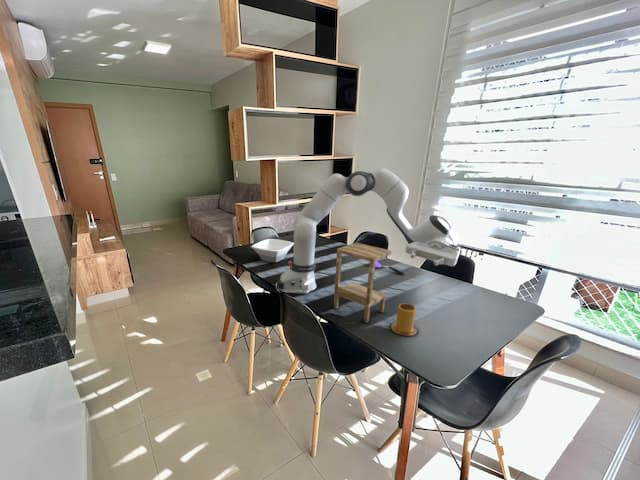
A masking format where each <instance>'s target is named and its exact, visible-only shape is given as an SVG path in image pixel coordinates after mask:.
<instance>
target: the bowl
mask: <svg viewBox="0 0 640 480" xmlns="http://www.w3.org/2000/svg"><path fill="white" fill-rule="evenodd" d="M292 247H294V241H293V242H292V241H288V240H284V239H278V238H277V239H276V238H266V239H263V240H261V241H258V242H255V243H254V244H252V245H251V246H250V248H251V249H252V250H253V251H255V253H256V254H258V256H259V258H260V260H262V261H265V262H270V263H279V262H280V261H282V260H284V259H285V258H286V256H287V254H288V252H289V251H290V250H291V248H292Z"/></svg>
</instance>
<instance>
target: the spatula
mask: <svg viewBox="0 0 640 480" xmlns="http://www.w3.org/2000/svg"><path fill="white" fill-rule="evenodd" d="M368 264H370V261H368ZM377 268H378V269H379V268H388V269H389V270H391V271H393V272H395V273H397V274H400V275H404V274H405V272H404V271H402V270H400V269H397V268H395V267H392V266H388V265H383V264H381V263H379V262H378V260H377V261H376V262H375V269H377Z"/></svg>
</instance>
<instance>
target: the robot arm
mask: <svg viewBox="0 0 640 480" xmlns="http://www.w3.org/2000/svg"><path fill="white" fill-rule="evenodd" d="M368 192H374V193H376V194H377V195H378V196H379V197H380V198H381V199H382V200H383V201H384V203H385V205H386V213H387V215H388V216H389V218H390V220H392V222H393V223H394V225H395V226H396V228H397V229H399V232H400V233H401V234H402V235H403V237H404V238H405V241H406V242H407V245H406V247H405V253H406V254H407V255H410V258H411V259H415V258H416V257H419V258H422V259H425V260H429V261H432V262H433V263H432V264H433V265H434V266H438V265H445V266H448V267H455V266H456V265H457V263H458V259H459V256H460V252H461V247H460V246H458V245H459V242H460V235H459V234H458V232H457V231H456V230H454V229H452V227H451V225H450V224H449V222H448V221H447V219H445V218H444V217H443V216H440V215H433V214H432V215H430V216H427V218H426V219H424V220H423V221H422V222H420V223H419V224H417V225H416V226H415V227H413V226H412V225H411V224H410V223H409V221H408V220H407V218H405V216H404V214H403V210H404V209H403V208H404V206H405V204H406V202H407V200H408V198H409V193H410V191H409V187H408V186H407V184H405V182H404V181H403V180H401V178H399V176H398V175H396V174H394V173H393V172H392V171H390V170H389V169H387V168H385V167H379V168H378V169H376V170H374V171H373V172H367V171H363V170H362V171H361V170H358V171H353V172H352V173H351V174H350V175H349V176H347V177H346V176H344V175H342V174H340V173H333V174H331V175H330V176H329V177H328V178H327V179H326V180H325V181H324V182H323V183H322V185H321V186H320V187H319V188H318V190H317V191H316V193H315V194H314V195H313V196H312V198H311V199H310V200H309V202H308V203H307V204H306V205H305V206H304V207H303V208H302V210H301V211H300V212H299V214H297V216H296V217H295V218H294V221H293V243H294V244H293V261H292V260H289V261H288V262H287V263H288V265H289V268H288V269H287V270H285V271H284V272H283V273H281V275H280V277H279V279H277V280H276V283H275V289H276V291H277V292H278V293H281V292H280V291H279V290H280V289H281V290H282V291H283V292H285V293H284V294H302V295H303V294H305V295H306V294H309V293H310V292H312V291H314V290H316V289H317V283H316V277H315V273H316V262H315V251H316V250H315V249H316V241H317V240H316V239H317V225H319V223H320V222H321V221H322V220H323V219H324V218H326V217H327V216H328V215H329V214H330V212H331V211H332V210H333V209H334V207H335V206H336V205H337V204H338V202H339V201H340V200H341V199H342V197H343V196H344V195H346V194H348V195H351V196H353V197H363V196H365V195H366V194H367V193H368Z"/></svg>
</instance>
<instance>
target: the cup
mask: <svg viewBox="0 0 640 480" xmlns="http://www.w3.org/2000/svg"><path fill="white" fill-rule="evenodd" d="M416 314H417V306H415V305H413V304H411V303H405V302H404V303H403V302H402V303H399V304H398V307H397V314H396V321H395V322H396V326H395V327H396V329H397V330H398V331H400V332H404V333H410V332H412V330H413V326H415V325H414V324H415V320H416Z"/></svg>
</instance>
